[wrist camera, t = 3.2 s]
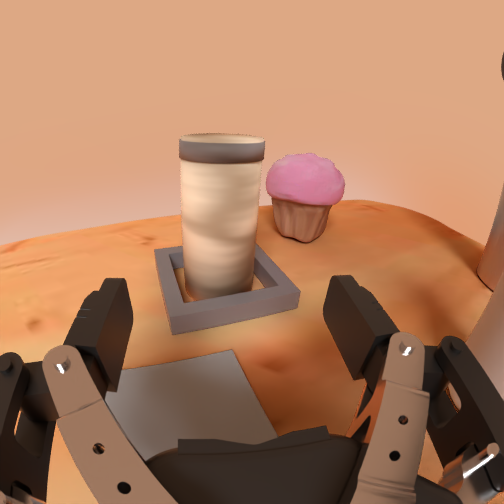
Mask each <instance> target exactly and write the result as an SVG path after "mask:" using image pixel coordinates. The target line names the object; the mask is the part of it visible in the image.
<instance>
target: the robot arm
mask: <svg viewBox="0 0 504 504" xmlns="http://www.w3.org/2000/svg"><path fill="white" fill-rule="evenodd" d="M501 70H502V77H503V80H504V53H503V57H502V64H501ZM503 270H504V184H503V189H502V193H501V197H500V201H499V205H498V209H497V212H496V216H495V219H494V223H493V226H492V229H491V232H490V235H489V238H488V241H487V244H486V246H485V249H484V252H483V255H482V257H481V260H480V262H479V265H478V267H477V273H478V276H479V277H480V279H481V280H482V281H483V282H484V283H485V284H486V285H487V286H488V287H489V288H490V289H492V290H493V291H494V290H495V288H496V286H497V284H498V282H499V279H500V277H501V275H502V273H503ZM323 316H324V320H325V322H326V324H327V326H328V328H329V330H330V332H331V334H332V336H333V339H334V341H335V343H336V345H337V347H338V349H339V351H340V353H341V355H342V357H343V359H344V361H345V363H346V365H347V368H348V370H349V372H350V374H351V376H352V378H353V380H359V379H363V378H365V380H366V384H365V386H364V388H363V391H362V394H361V398H360V401H359V404H358V407H357V409H356V412H355V415H354V418H353V421H352V423H351V426H350V428H349V429H348V431H347V433H346V435H345V436H342V435H336V434H329V433H328V430H327V427H326V426H321V427H316V428H311V429H305V430H299V431H293V432H290V433H288V434H285V435H282V436H280V437H277V438H274V439H272V440H269V441H266V442H263V443H260V444H255V445H253V444H245V443H238V442H231V441H225V440H219V439H178V447H177V448H172V449H169V450H166V451H163V452H160V453H158V454H156V455H154V456H152V457H151V458H149V459H148V460H146V461H145V459H144V458H143V457H142V455H141V454H140V453H139V451H138V450H137V449H136V447H135V446H134V445H133V443H132V442H131V440H130V439H129V438H128V436H127V435H126V433H125V432H124V430H123V429H122V427H121V425H120V424H119V422H118V421H117V419H116V418H115V416H114V414H113V413H112V411H111V409H110V408H109V406H108V404H107V403H106V401H105V397H106V393H107V391H108V392H117V390H118V385H119V380H120V375H121V371H122V366H123V362H124V358H125V353H126V349H127V345H128V341H129V337H130V333H131V330H132V326H133V310H132V306H131V301H130V297H129V292H128V288H127V283H126V280H125V279H124V278H106V279H105V280H104V282H103V284H102V286H101V288H100V290H99V291H93V292H92V293H91V294H90V295H88V296H87V297H86V298H85V300H84V302H83V304H82V305H81V307H80V310H79V311H78V313H77V317H76V318H75V320H74V322H73V324H72V326H71V328H70V330H69V332H68V335H67V337H66V339H65V341H64V344H63V345H61V346H57V347H55V348H53V349H51V350H50V351H49V352H48V353H47V354H46V355H45V357H44V359H43V361H39V362H31V363H24V362H23V360H22V359H21V357H20V356H19V355H18V354H16V353H14V352H8V353H5V354H3V355H1V356H0V504H46V496H47V482H48V471H49V463H50V455H51V448H52V442H53V436H54V430H55V425H56V421H57V425H58V428H59V430H60V432H61V435H62V437H63V439H64V441H65V444H66V446H67V448H68V450H69V452H70V454H71V456H72V458H73V460H74V462H75V464H76V466H77V468H78V469H79V471H80V473H81V475H82V477H83V478H84V480H85V482H86V484H87V485H88V487H89V489H90V490H91V492H92V494H93V495H94V497H95V498H96V500H97V501H98V503H99V504H486V503H487V502H489V501H490V500H491V499H492V498H494V497H496V496H498V495H499V494H501V493H503V492H504V401H503V399H502V397H501V396H500V394H499V392H498V391H497V389H496V388H495V386H494V384H493V383H492V381H491V380H490V378H489V377H488V375H487V374H486V372H485V371H484V369H483V368H482V366H481V365H480V363H479V362H478V360H477V359H476V358H475V356H474V355H473V353H472V352H471V351H470V349H469V348H468V346H467V345H466V344H465V343H464V342H463V341H462V340H461V339H459V338H457V337H454V336H446V337H444V338H443V339H442V341H441V342H440V344H439V346H424V345H423V343H422V342H421V341H420V340H419V339H418V338H417V337H416V336H414V335H412V334H410V333H406V332H400V331H399V330H398V328H397V327H396V325H395V324H394V323H393V321H392V320H391V318H390V317H389V316H388V314H387V313H386V312H385V310H383V308H382V306H381V305H380V304H379V303H378V301H377V300H376V298H375V297H374V296H373V294H372V293H371V292H369V291H368V290H367V289H365V288H364V287H362V286H359V285H358V283H357V282H356V281H355V279H354V278H353V277H352V276H351V275H338V276H332V278H331V280H330V283H329V287H328V291H327V295H326V299H325V302H324V306H323ZM450 383H451V385H452V386H453V388H454V390H455V391H456V393H457V395H458V397H459V398H460V401H461V408H460V411H459V412H458V413H457V412H456V410H455V408H454V406H453V405H452V403H451V401H450V399H449V397H448V395H447V394H446V392H445V389H446V388H447V386H448V385H449V384H450ZM19 410H20V411H21V414H20V418H19V422H18V426H17V430H16V434H15V435H14V429H15V425H16V421H17V417H18V413H19ZM426 429H427V431H428V434H429V436H430V438H431V440H432V443H433V445H434V447H435V450H436V452H437V454H438V457H439V459H440V462H441V464H442V467H443V469H444V471H443V477H441V478H440V480H439V483H438V484H436V483H434V482H432V481H430V480H428V479H426V478H424V477H422V476H420V475H418V474H417V473H418V469H419V464H420V459H421V455H422V449H423V444H424V438H425V432H426Z"/></svg>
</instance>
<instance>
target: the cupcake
mask: <svg viewBox="0 0 504 504" xmlns="http://www.w3.org/2000/svg"><path fill="white" fill-rule="evenodd" d="M344 187H345V182H344V178H343V175H342V174H341V173H340V171H339V170H337V169H336V168H335V165H334V163H333V162H332V161H331V160H329V159H326V158H321V157H318V156H317V155H315V154H313V153H306V154H295V155H286V156H285V157H283V158H282V159H280V160H277V161H276V162H275V163H274V164H273V165H272V167H271V168H270V170H269V172H268V174H267V179H266V189H267V192H268V194H269V195H270V196H271V197H272V204H273V213H274V219H275V223H276V226H277V228H278V230H279V231H280V233H281V234H282V235H283V236H285V237H293V238H295V239H297V240H299V241H302V242H311V241H312V240H314V239H315V238H317V237H318V236H320V235H321V234H322V233H323V231H324V230H325V227H326V223H327V219H328V214H329V210H330V208H331V207H332V205H334V204H336V203H338V202H339V201H340V200H341V199H342V197H343V194H344Z"/></svg>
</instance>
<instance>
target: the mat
mask: <svg viewBox="0 0 504 504" xmlns="http://www.w3.org/2000/svg"><path fill="white" fill-rule="evenodd" d="M105 401H106V403H107V404H108V406H109V408H110V409H111V411H112V413H113V414H114V416H115V418H116V419H117V421H118V422H119V424H120V425H121V427H122V429H123V430H124V432H125V433H126V435H127V436H128V438H129V439H130V440H131V442H132V443H133V445H134V446H135V447H136V449H137V450H138V451H139V453H140V454H141V455H142V457H143V458H144V459H145V461H146V460H148V459H149V458H151V457H152V456H154V455H156V454H158V453H160V452H163V451H166V450H169V449H172V448H177V447H178V439H219V440H225V441H231V442H238V443H245V444H253V445H255V444H260V443H263V442H266V441H269V440H272V439H274V438H277V437H278V435H277V433H276V431H275V430H274V428H273V426H272V424H271V423H270V421H269V419H268V417H267V415H266V414H265V412H264V410H263V408H262V406H261V405H260V403H259V401H258V399H257V397H256V395H255V393H254V392H253V390H252V388H251V386H250V384H249V382H248V380H247V378H246V376H245V374H244V372H243V370H242V368H241V367H240V365H239V363H238V361H237V359H236V357H235V355H234V353H233V351H232V350H228V351H224V352H219V353H215V354H210V355H205V356H201V357H196V358H191V359H186V360H181V361H175V362H170V363H164V364H158V365H152V366H146V367H140V368H133V369H126V370H122V371H121V375H120V380H119V385H118V390H117V392H108V391H107V393H106V397H105Z"/></svg>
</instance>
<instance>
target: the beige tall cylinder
mask: <svg viewBox="0 0 504 504" xmlns="http://www.w3.org/2000/svg"><path fill="white" fill-rule="evenodd" d="M264 150H265V141H264V138H262V137H257V136H251V135H241V134H221V133H210V134H208V133H207V134H190V135H184V136H181V139H180V140H179V157H180V158H181V218H182V242H183V260H184V276H185V288H186V292H187V293H188V295H189V296H190V297H191V298H192V299H194V300H195V301H199V300H205V299H211V298H216V297H222V296H227V295H233V294H238V293H244V292H249V291H252V282H253V270H254V258H255V245H256V233H257V220H258V208H259V194H260V182H261V169H262V160H263V159H264Z"/></svg>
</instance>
